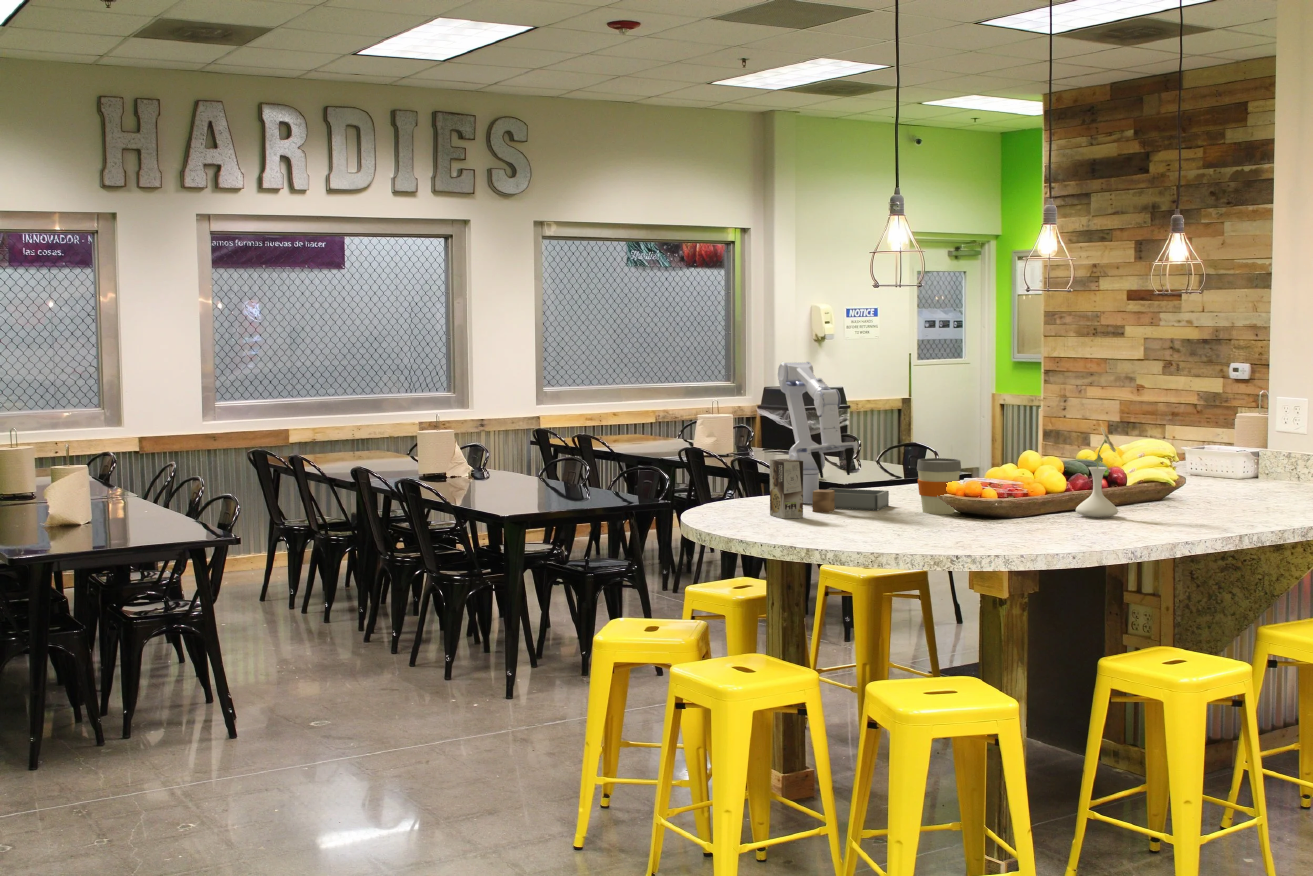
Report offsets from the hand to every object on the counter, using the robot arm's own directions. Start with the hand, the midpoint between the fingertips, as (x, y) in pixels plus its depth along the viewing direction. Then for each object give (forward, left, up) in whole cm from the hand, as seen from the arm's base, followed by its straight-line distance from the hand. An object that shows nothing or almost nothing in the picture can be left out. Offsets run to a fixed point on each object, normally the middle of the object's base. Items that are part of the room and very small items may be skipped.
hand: (835, 476), depth 392 cm
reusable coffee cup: (+28, +10, -10) cm, 31 cm away
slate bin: (+2, +12, -10) cm, 16 cm away
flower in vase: (+71, +18, -10) cm, 74 cm away
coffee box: (-9, -16, -10) cm, 21 cm away
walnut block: (-3, -1, -10) cm, 11 cm away
